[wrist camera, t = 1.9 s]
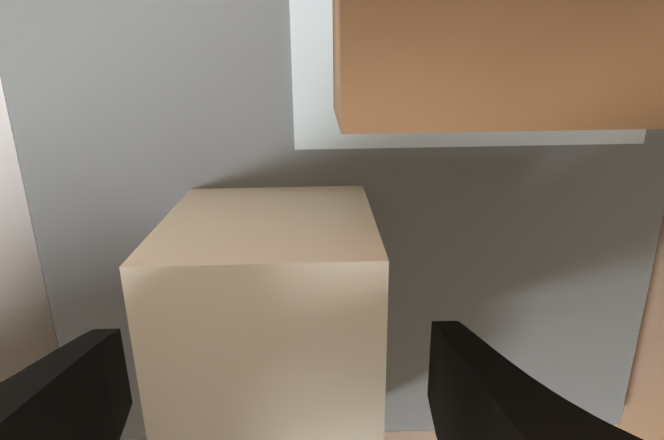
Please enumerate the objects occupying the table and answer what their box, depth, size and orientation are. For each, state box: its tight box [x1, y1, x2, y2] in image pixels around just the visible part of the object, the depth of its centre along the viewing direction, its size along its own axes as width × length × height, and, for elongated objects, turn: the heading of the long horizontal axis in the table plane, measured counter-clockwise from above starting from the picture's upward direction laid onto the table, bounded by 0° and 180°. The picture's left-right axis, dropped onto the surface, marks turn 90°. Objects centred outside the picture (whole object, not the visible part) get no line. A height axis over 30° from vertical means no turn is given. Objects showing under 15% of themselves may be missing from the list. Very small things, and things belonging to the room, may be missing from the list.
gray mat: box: [0, 0, 664, 440], centre depth 13 cm, size 18×17×1 cm
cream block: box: [119, 186, 389, 440], centre depth 12 cm, size 7×4×5 cm, turn 1°
